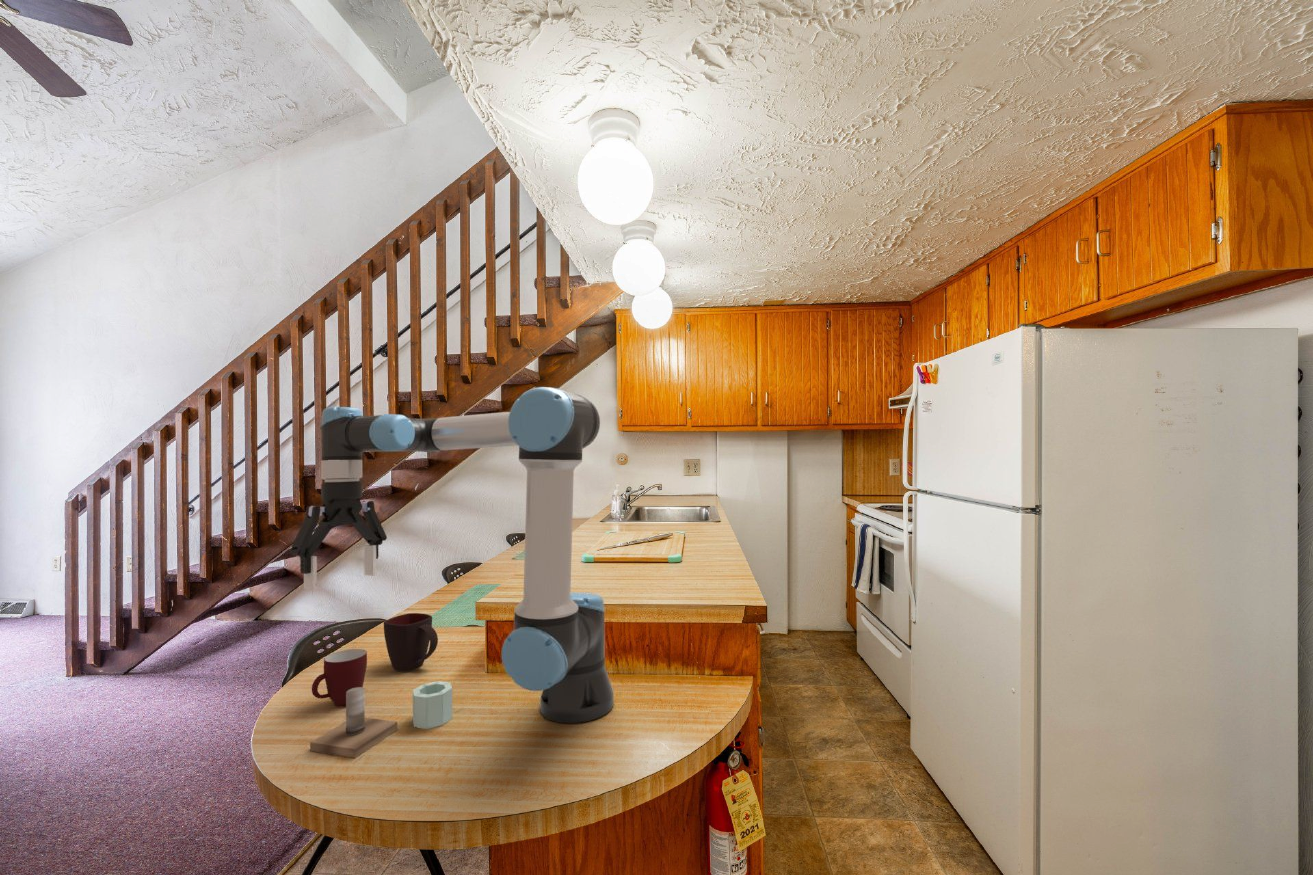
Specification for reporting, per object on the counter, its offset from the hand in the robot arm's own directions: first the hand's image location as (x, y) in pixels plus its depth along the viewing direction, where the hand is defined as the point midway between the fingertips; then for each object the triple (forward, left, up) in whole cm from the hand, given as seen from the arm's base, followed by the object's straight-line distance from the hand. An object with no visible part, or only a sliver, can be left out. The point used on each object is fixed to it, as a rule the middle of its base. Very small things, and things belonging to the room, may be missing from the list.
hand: (341, 581), depth 112 cm
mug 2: (+1, -23, -27) cm, 35 cm away
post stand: (-12, +9, -27) cm, 31 cm away
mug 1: (+3, -2, -27) cm, 27 cm away
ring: (-21, -1, -27) cm, 34 cm away
